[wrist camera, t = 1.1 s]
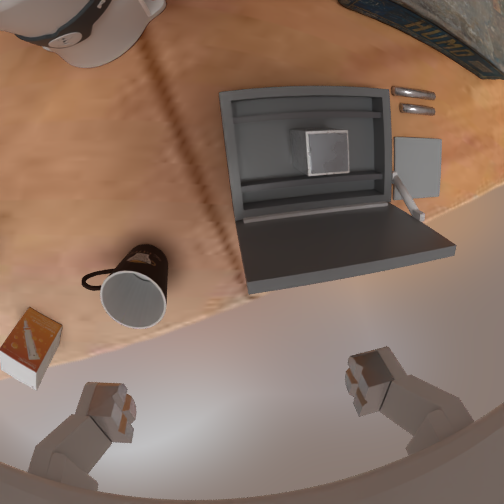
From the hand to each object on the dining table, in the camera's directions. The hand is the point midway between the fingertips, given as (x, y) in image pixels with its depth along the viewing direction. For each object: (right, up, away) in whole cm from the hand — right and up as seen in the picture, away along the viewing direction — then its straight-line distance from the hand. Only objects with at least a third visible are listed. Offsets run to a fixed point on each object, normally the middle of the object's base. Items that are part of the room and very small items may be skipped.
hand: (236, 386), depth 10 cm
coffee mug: (-16, +4, +33) cm, 37 cm away
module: (+8, +19, +27) cm, 34 cm away
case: (+8, +19, +28) cm, 35 cm away
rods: (+25, +28, +26) cm, 46 cm away
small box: (-40, -10, +36) cm, 55 cm away
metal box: (+29, +47, +18) cm, 58 cm away
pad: (+27, +18, +31) cm, 45 cm away
